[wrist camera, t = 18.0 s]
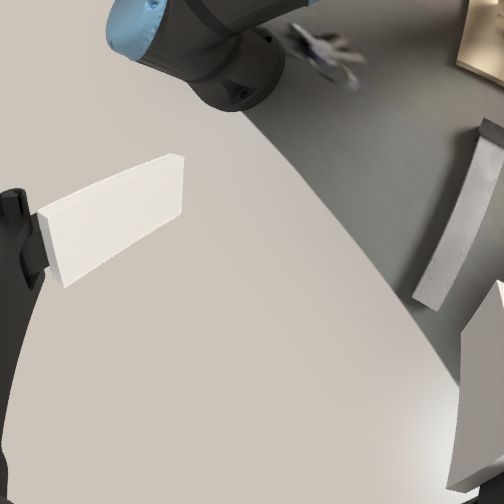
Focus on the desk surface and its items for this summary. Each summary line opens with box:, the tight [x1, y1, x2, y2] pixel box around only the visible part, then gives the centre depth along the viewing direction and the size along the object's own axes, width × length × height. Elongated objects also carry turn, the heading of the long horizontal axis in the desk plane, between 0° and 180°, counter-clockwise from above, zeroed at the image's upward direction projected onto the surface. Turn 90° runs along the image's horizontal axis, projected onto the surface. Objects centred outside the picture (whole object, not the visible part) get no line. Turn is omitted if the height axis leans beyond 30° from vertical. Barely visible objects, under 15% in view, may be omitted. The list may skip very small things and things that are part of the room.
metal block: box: [412, 118, 504, 311], centre depth 30 cm, size 22×4×4 cm, turn 155°
